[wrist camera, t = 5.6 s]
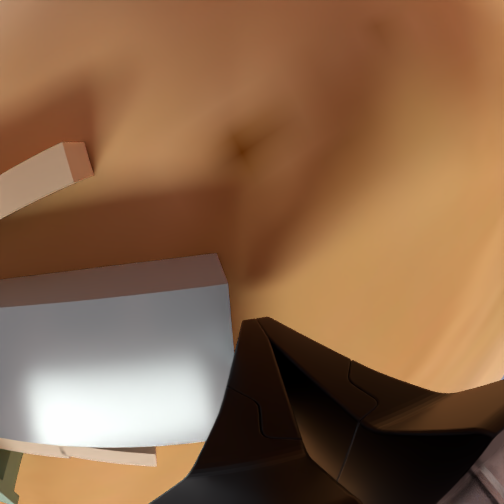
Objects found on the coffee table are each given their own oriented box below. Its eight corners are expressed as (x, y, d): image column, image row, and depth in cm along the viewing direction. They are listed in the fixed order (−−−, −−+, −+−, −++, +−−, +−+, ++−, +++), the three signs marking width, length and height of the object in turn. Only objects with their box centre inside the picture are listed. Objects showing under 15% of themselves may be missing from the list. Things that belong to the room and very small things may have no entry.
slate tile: (-11, 396, 9) (-27, 431, 7) (-64, 284, 7) (-95, 312, 5) (229, 388, 12) (242, 435, 9) (214, 249, 10) (228, 283, 7)
